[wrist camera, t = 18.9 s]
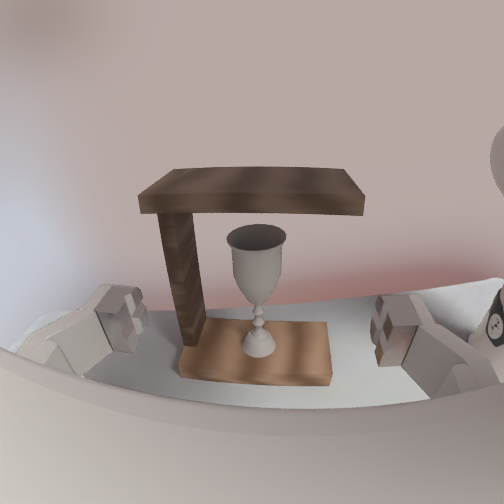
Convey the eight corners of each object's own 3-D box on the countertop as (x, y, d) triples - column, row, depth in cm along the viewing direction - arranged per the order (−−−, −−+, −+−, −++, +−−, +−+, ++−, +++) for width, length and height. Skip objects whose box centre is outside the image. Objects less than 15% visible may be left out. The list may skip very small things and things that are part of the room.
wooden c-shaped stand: (324, 334, 49) (343, 169, 36) (329, 385, 39) (365, 196, 26) (197, 329, 51) (173, 169, 38) (181, 377, 42) (137, 195, 28)
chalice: (253, 323, 48) (249, 220, 39) (290, 338, 45) (296, 231, 36) (226, 351, 43) (214, 241, 34) (265, 370, 39) (265, 257, 31)
